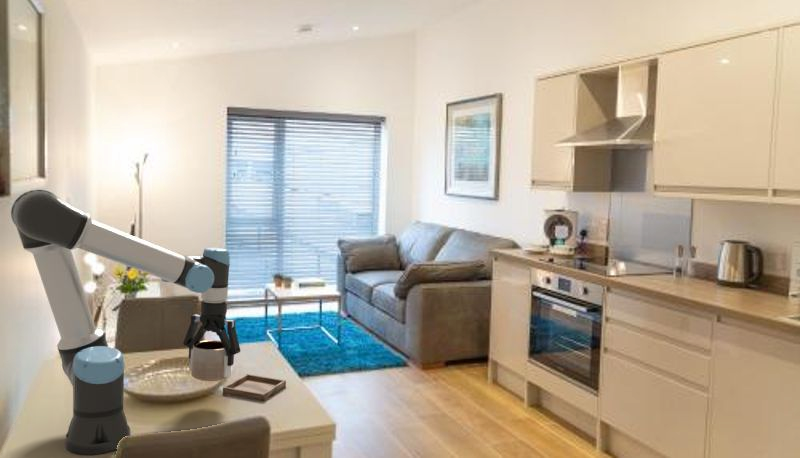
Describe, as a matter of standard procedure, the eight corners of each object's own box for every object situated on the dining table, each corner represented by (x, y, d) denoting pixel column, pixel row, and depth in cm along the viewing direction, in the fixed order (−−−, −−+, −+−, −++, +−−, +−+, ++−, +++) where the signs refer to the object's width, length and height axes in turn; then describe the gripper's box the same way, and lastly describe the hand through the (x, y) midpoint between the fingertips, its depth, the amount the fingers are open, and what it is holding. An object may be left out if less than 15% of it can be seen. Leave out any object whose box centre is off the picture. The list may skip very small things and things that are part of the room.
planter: (183, 376, 194) (184, 344, 193) (209, 368, 204) (211, 338, 203) (210, 384, 189) (212, 352, 188) (236, 375, 199) (238, 344, 198)
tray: (263, 401, 201) (263, 394, 201) (222, 393, 205) (222, 387, 205) (285, 386, 215) (285, 380, 214) (247, 379, 219) (247, 373, 219)
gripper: (255, 303, 194) (250, 375, 196) (188, 293, 201) (184, 363, 203) (241, 307, 187) (237, 382, 189) (172, 297, 194) (169, 369, 196)
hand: (210, 372), depth 196 cm, fingers closed on planter, 11 cm apart
